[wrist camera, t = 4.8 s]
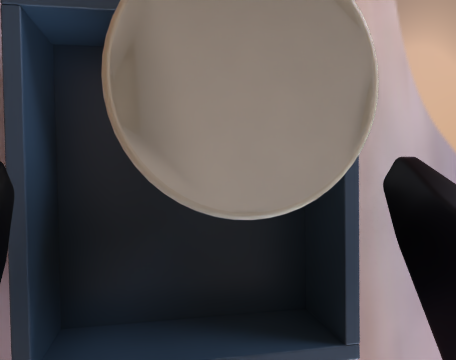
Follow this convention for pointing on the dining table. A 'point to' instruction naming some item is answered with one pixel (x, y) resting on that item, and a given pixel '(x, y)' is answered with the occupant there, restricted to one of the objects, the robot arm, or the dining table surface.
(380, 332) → the dining table surface
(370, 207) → the dining table surface
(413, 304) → the dining table surface
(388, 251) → the dining table surface
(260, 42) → the light grey piece
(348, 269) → the box
